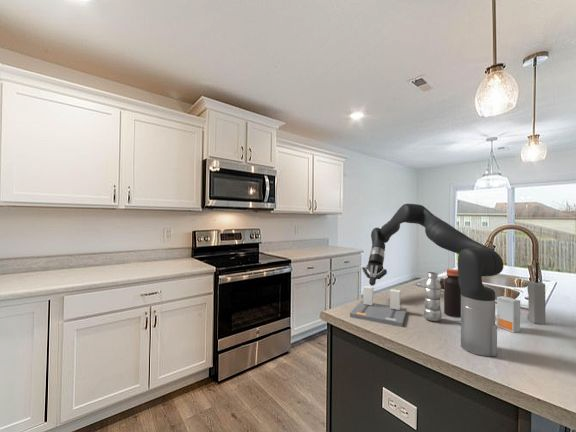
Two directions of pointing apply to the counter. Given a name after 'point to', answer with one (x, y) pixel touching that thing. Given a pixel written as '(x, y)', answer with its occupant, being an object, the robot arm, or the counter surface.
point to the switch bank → (379, 313)
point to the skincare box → (508, 313)
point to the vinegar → (452, 294)
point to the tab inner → (395, 299)
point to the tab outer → (368, 295)
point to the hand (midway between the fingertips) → (371, 284)
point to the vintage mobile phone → (536, 300)
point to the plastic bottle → (432, 297)
